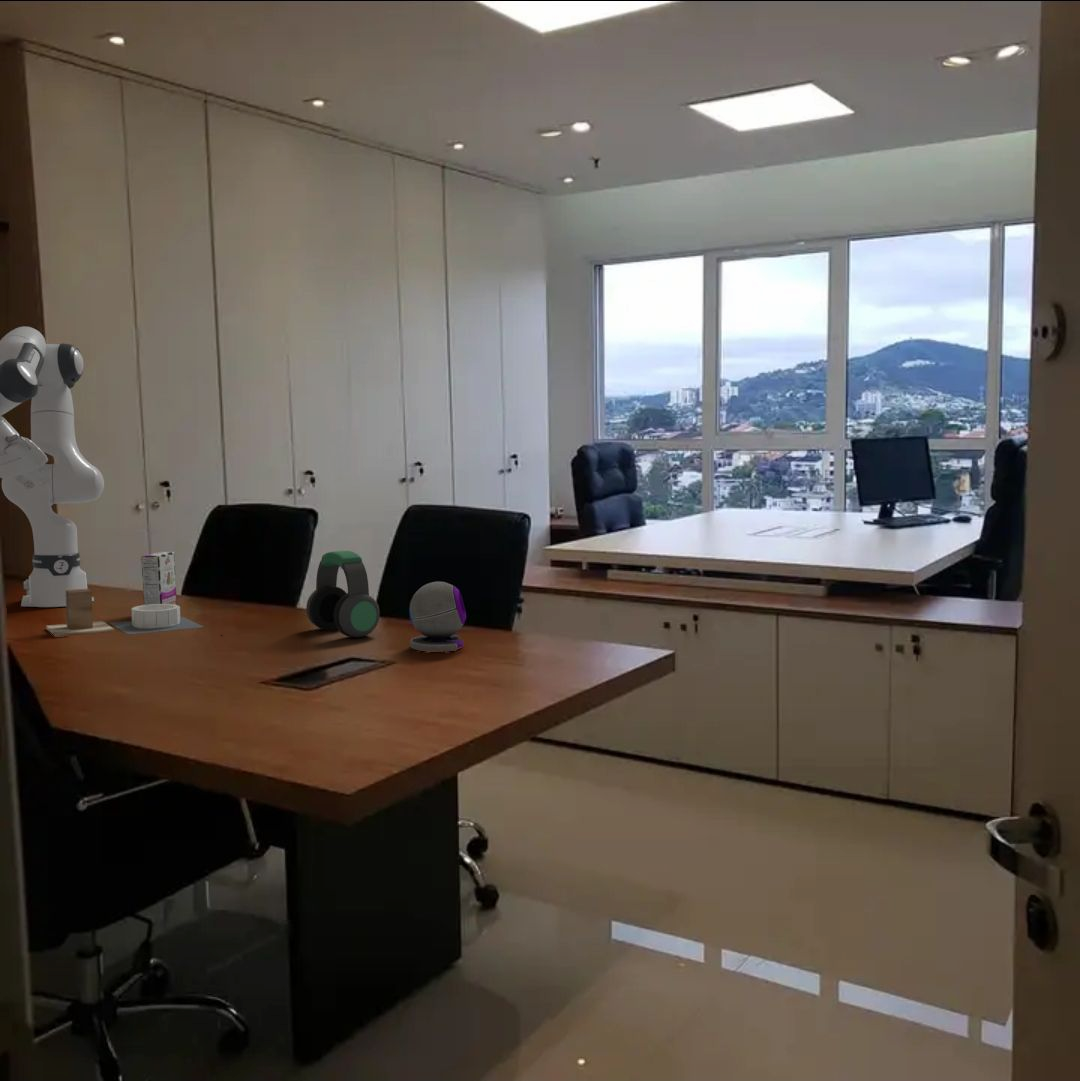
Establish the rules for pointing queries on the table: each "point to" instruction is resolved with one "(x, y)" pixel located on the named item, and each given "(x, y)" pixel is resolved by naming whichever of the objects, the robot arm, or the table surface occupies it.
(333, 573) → the headphones
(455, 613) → the webcam
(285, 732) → the table surface
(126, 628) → the mat
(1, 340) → the robot arm
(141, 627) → the bowl
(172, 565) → the candy bar box
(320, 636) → the table surface
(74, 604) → the lid
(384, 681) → the table surface
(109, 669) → the table surface
